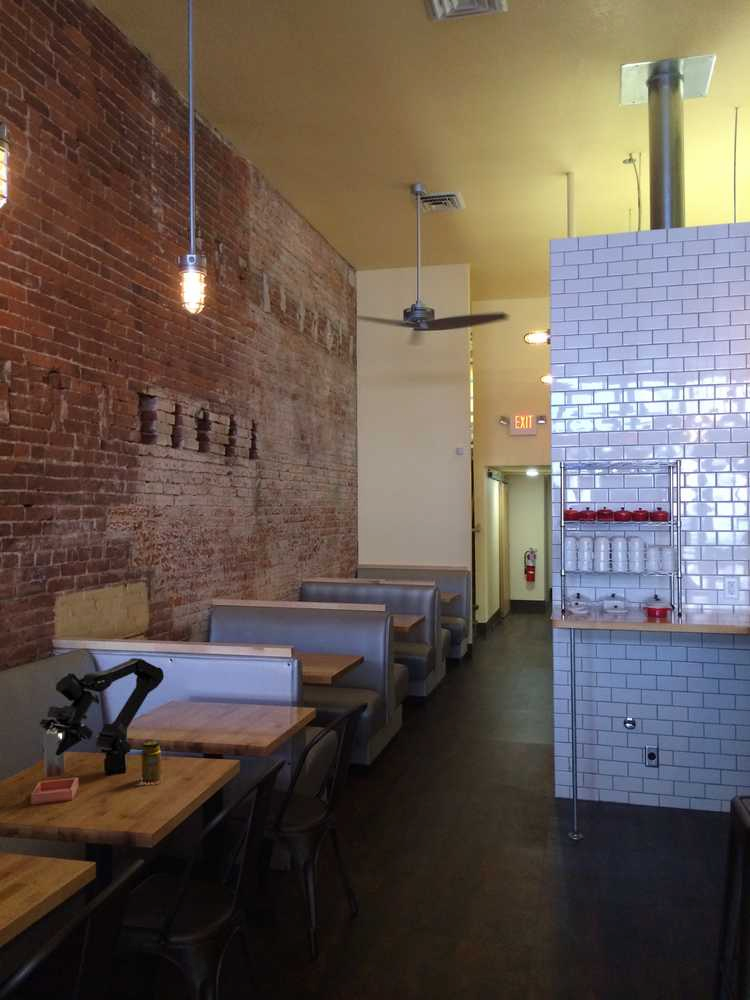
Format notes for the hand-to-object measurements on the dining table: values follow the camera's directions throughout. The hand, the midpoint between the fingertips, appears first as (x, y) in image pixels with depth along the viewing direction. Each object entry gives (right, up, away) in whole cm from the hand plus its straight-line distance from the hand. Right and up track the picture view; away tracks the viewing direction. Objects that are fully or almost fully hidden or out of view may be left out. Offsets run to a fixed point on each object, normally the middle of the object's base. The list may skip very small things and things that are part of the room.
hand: (50, 753), depth 239 cm
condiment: (+28, -12, +11) cm, 32 cm away
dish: (+1, -13, +1) cm, 13 cm away
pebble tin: (+1, -7, +1) cm, 7 cm away
